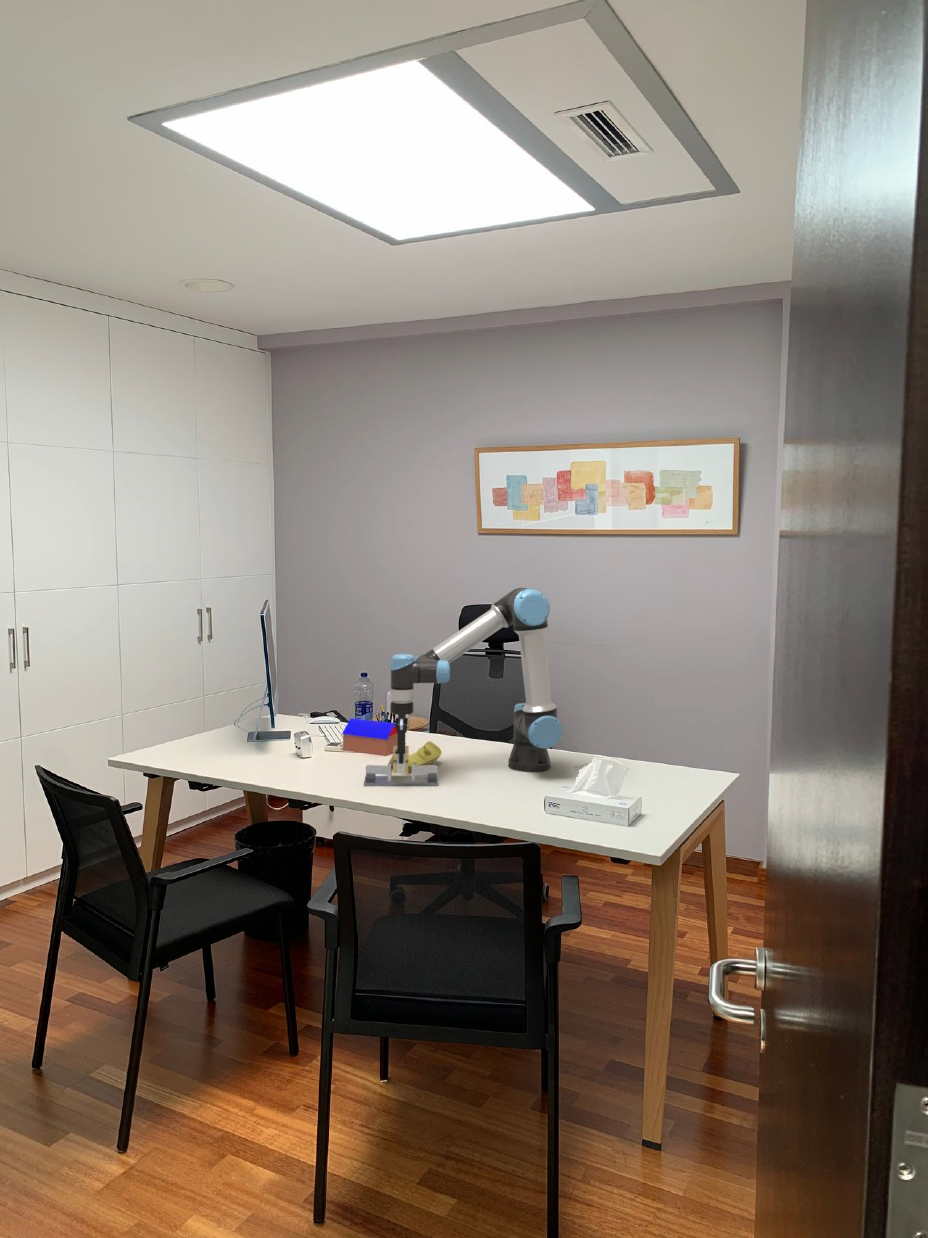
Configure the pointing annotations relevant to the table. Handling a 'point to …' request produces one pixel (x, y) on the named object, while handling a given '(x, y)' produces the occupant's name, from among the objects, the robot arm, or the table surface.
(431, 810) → the table surface
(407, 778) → the shaft bench
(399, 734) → the robot arm
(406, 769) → the banded wooden block
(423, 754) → the plastic component
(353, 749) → the house
